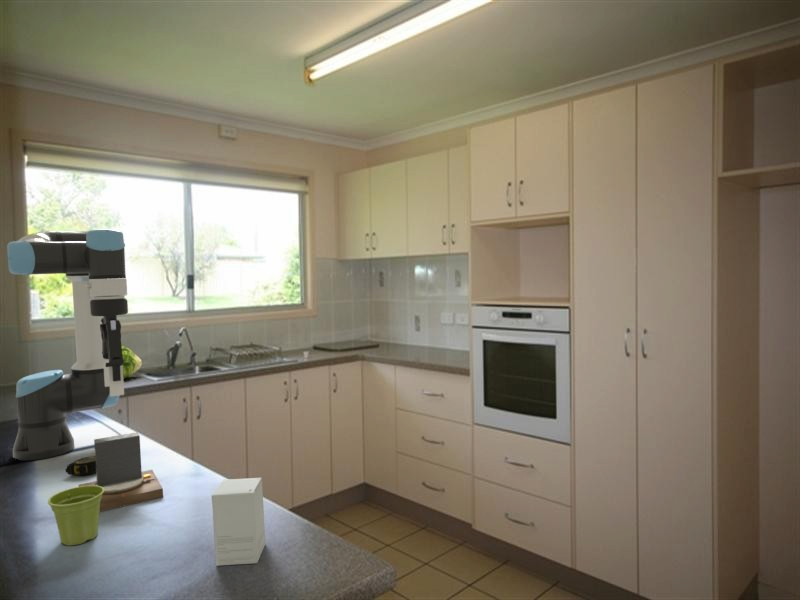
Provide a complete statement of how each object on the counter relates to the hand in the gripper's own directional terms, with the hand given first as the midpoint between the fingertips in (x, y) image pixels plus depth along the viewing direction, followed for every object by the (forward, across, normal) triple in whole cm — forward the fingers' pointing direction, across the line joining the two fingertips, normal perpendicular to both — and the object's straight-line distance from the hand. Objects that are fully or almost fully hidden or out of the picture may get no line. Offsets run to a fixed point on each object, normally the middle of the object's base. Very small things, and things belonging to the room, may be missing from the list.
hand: (114, 390), depth 125 cm
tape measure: (+25, -22, -6) cm, 34 cm away
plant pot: (+25, +19, -9) cm, 32 cm away
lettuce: (+24, -167, +15) cm, 170 cm away
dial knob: (+22, 0, +1) cm, 22 cm away
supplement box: (+25, +44, +15) cm, 53 cm away
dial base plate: (+24, 0, 0) cm, 24 cm away
